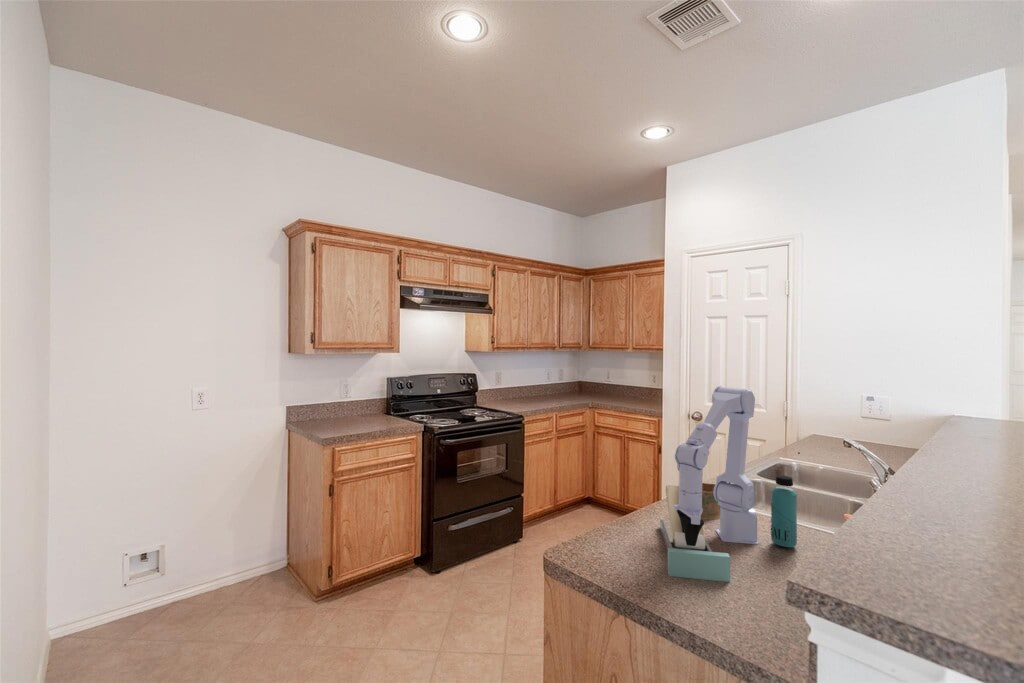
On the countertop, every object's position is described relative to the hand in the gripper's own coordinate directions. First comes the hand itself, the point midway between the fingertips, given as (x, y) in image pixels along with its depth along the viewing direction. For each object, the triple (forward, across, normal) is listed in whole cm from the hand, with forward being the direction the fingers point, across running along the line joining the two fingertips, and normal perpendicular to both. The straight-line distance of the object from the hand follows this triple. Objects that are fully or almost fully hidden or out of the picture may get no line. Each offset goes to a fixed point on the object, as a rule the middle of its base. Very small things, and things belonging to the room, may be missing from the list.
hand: (689, 542), depth 120 cm
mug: (+4, -35, +14) cm, 38 cm away
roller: (+2, 0, 0) cm, 2 cm away
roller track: (+4, -6, 0) cm, 7 cm away
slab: (-4, -9, 0) cm, 10 cm away
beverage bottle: (+4, -13, +28) cm, 31 cm away
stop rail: (+5, +9, 0) cm, 10 cm away
